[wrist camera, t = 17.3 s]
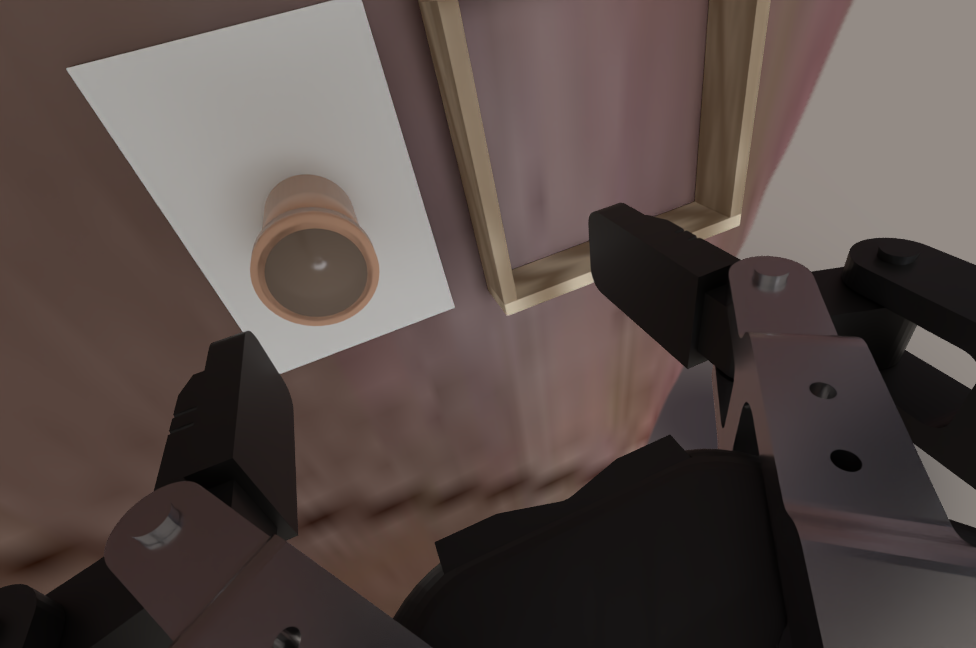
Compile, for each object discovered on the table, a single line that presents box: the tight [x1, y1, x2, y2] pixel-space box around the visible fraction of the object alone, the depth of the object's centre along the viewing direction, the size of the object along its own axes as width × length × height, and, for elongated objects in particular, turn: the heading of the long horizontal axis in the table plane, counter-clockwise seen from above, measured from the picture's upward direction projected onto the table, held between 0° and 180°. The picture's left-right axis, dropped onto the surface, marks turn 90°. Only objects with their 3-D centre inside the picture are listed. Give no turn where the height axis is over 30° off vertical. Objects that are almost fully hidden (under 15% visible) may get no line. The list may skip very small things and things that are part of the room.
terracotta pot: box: [250, 174, 380, 326], centre depth 25 cm, size 6×6×8 cm
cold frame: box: [418, 0, 771, 316], centre depth 29 cm, size 20×20×7 cm
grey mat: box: [66, 0, 455, 374], centre depth 29 cm, size 14×20×1 cm
